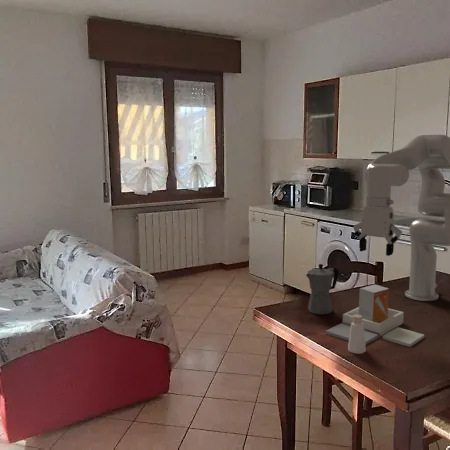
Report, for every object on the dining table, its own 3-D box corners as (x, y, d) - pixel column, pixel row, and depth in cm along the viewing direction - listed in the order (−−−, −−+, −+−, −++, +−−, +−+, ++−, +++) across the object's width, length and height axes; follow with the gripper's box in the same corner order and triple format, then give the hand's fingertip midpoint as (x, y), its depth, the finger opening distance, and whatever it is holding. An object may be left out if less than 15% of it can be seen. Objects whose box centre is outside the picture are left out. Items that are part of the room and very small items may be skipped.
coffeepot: (314, 317, 172) (315, 269, 168) (298, 310, 180) (298, 263, 177) (346, 309, 179) (347, 263, 176) (329, 302, 187) (330, 258, 184)
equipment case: (366, 313, 175) (367, 302, 174) (403, 323, 165) (403, 312, 164) (325, 333, 157) (325, 322, 156) (363, 346, 147) (364, 333, 146)
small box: (372, 329, 159) (373, 292, 157) (357, 324, 165) (358, 288, 162) (388, 324, 164) (389, 288, 162) (373, 319, 169) (374, 283, 167)
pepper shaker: (349, 345, 148) (350, 311, 146) (367, 348, 145) (368, 314, 144) (345, 352, 143) (346, 317, 141) (364, 355, 141) (365, 320, 139)
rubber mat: (397, 330, 159) (397, 327, 159) (424, 337, 152) (424, 334, 152) (382, 338, 152) (382, 335, 152) (409, 347, 146) (409, 344, 145)
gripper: (408, 203, 154) (405, 255, 156) (360, 199, 166) (358, 247, 169) (397, 205, 149) (394, 258, 151) (349, 201, 161) (347, 250, 164)
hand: (375, 252), depth 160 cm, fingers open, 9 cm apart
